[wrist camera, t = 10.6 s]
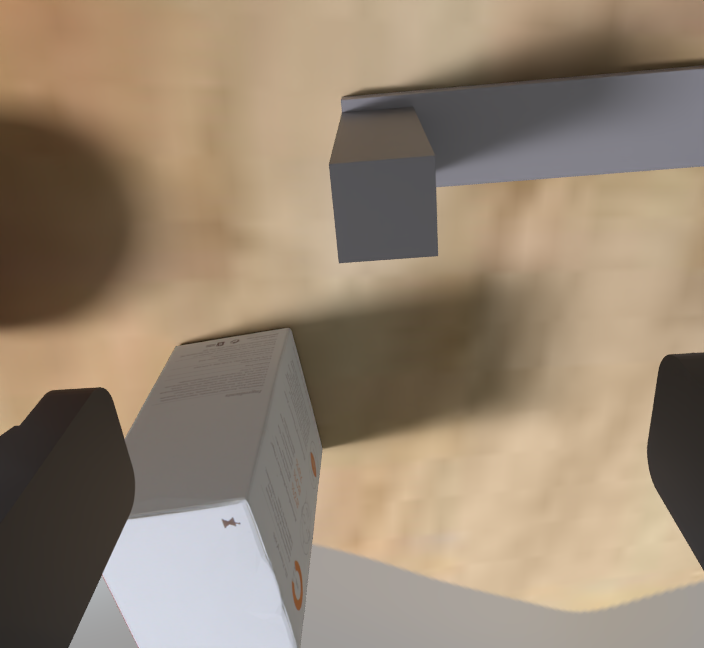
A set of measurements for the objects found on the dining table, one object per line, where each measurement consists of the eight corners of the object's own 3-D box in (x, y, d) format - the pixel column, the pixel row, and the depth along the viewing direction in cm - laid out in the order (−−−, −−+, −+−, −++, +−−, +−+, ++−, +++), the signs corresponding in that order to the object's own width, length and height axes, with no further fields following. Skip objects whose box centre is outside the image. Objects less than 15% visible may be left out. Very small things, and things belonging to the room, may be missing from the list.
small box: (173, 343, 34) (70, 523, 22) (292, 324, 33) (250, 498, 21) (216, 466, 37) (147, 677, 25) (324, 450, 36) (304, 660, 25)
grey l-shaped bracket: (341, 96, 28) (327, 146, 18) (756, 60, 27) (984, 91, 17) (349, 187, 30) (340, 278, 20) (739, 156, 29) (937, 235, 19)
